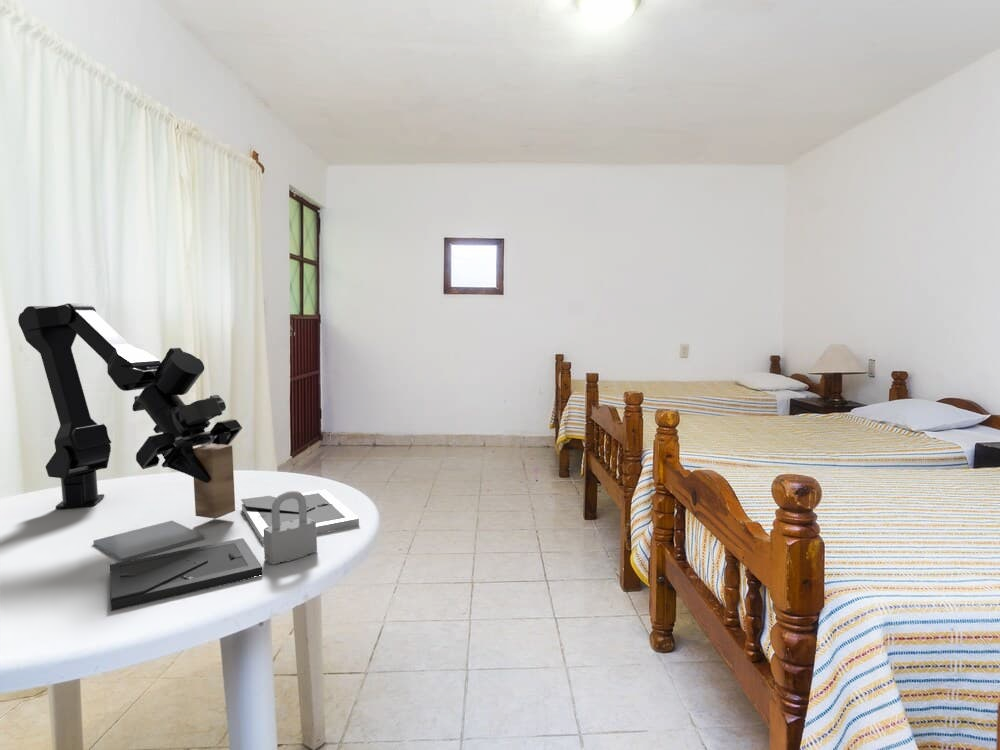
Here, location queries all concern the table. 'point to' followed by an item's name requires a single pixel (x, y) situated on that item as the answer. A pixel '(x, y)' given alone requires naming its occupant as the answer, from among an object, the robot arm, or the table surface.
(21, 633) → the table surface
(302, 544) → the padlock
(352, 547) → the table surface
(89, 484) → the robot arm
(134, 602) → the picture frame
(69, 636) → the table surface
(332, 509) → the picture frame
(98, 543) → the coaster
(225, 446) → the block
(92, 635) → the table surface
